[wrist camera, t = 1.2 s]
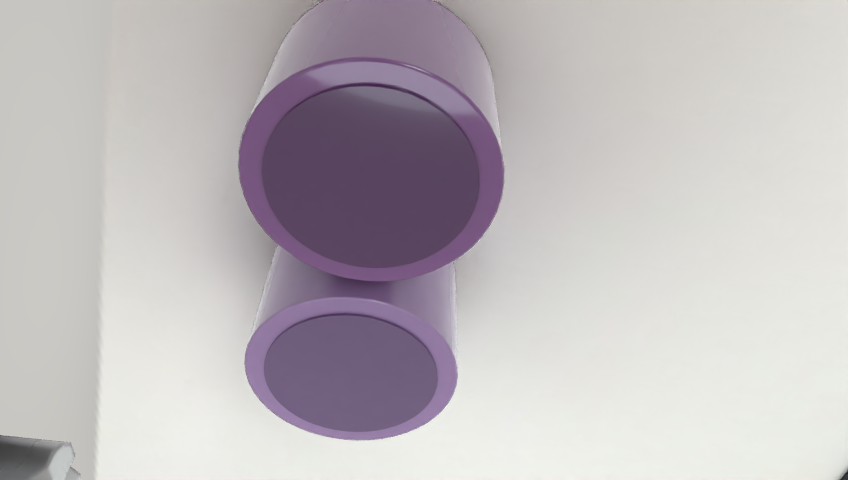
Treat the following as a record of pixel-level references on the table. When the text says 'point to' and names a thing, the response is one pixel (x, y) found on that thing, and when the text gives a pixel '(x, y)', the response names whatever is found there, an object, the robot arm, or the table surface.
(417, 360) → the dish
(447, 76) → the purple round cup
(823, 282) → the table surface
